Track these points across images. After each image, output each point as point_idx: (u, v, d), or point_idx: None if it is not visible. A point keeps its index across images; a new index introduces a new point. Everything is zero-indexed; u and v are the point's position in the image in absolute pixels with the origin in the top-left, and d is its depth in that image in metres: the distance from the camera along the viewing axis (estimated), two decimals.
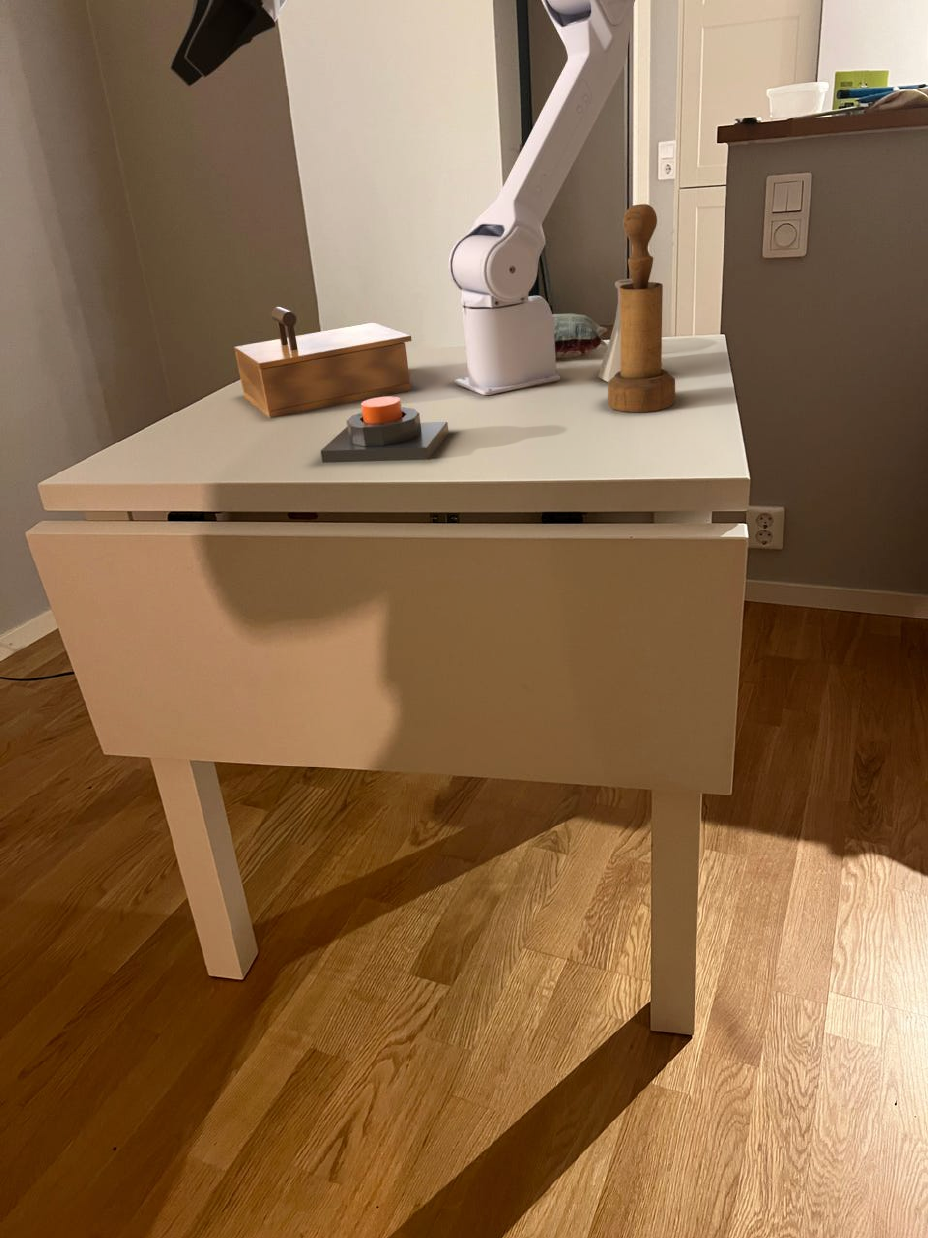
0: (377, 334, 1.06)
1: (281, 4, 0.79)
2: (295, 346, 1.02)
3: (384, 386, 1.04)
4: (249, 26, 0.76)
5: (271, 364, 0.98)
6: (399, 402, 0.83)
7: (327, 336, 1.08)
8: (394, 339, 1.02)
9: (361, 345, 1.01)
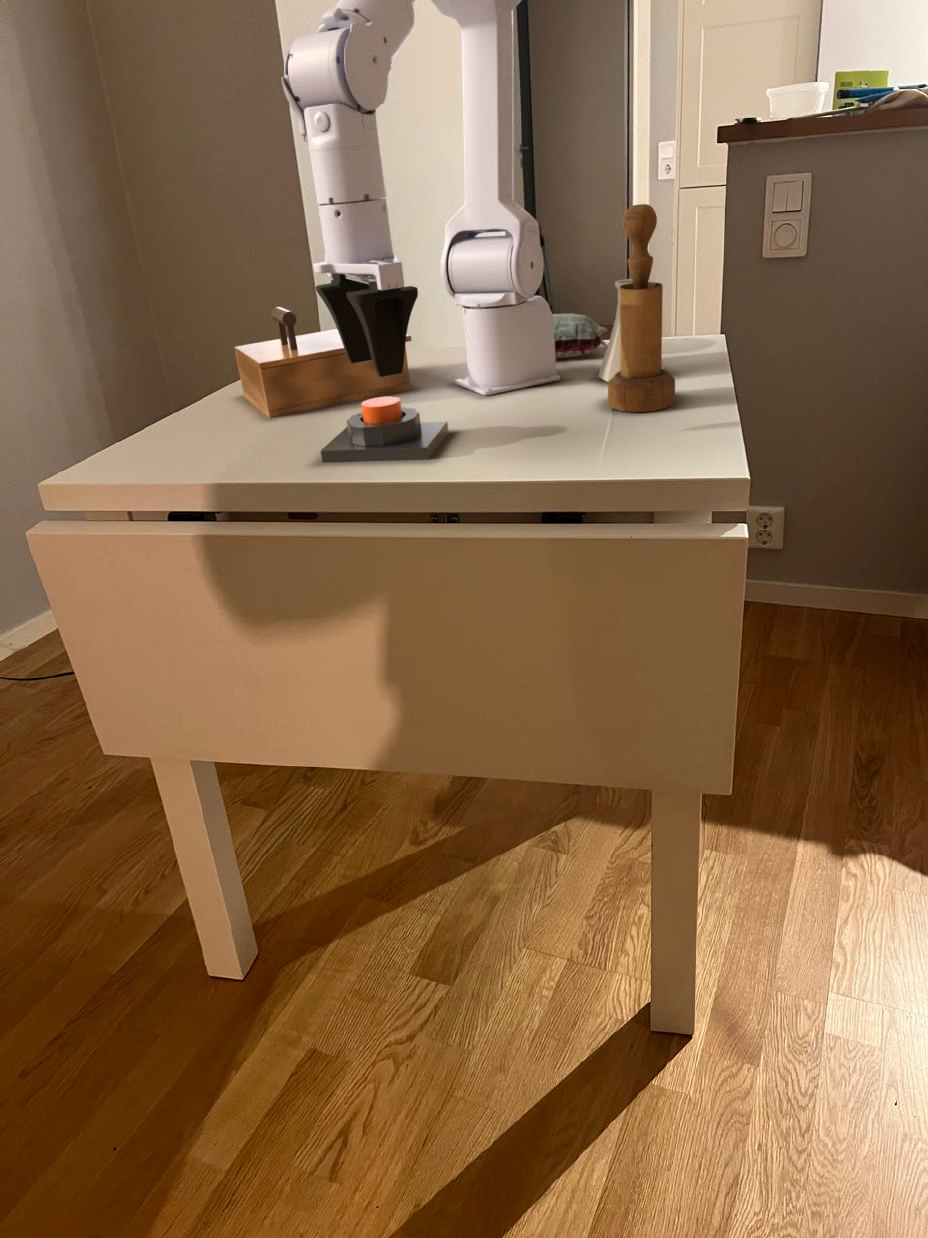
0: None
1: None
2: (295, 346, 1.02)
3: (384, 386, 1.04)
4: (403, 311, 0.76)
5: (271, 364, 0.98)
6: (399, 402, 0.83)
7: (327, 336, 1.08)
8: None
9: None
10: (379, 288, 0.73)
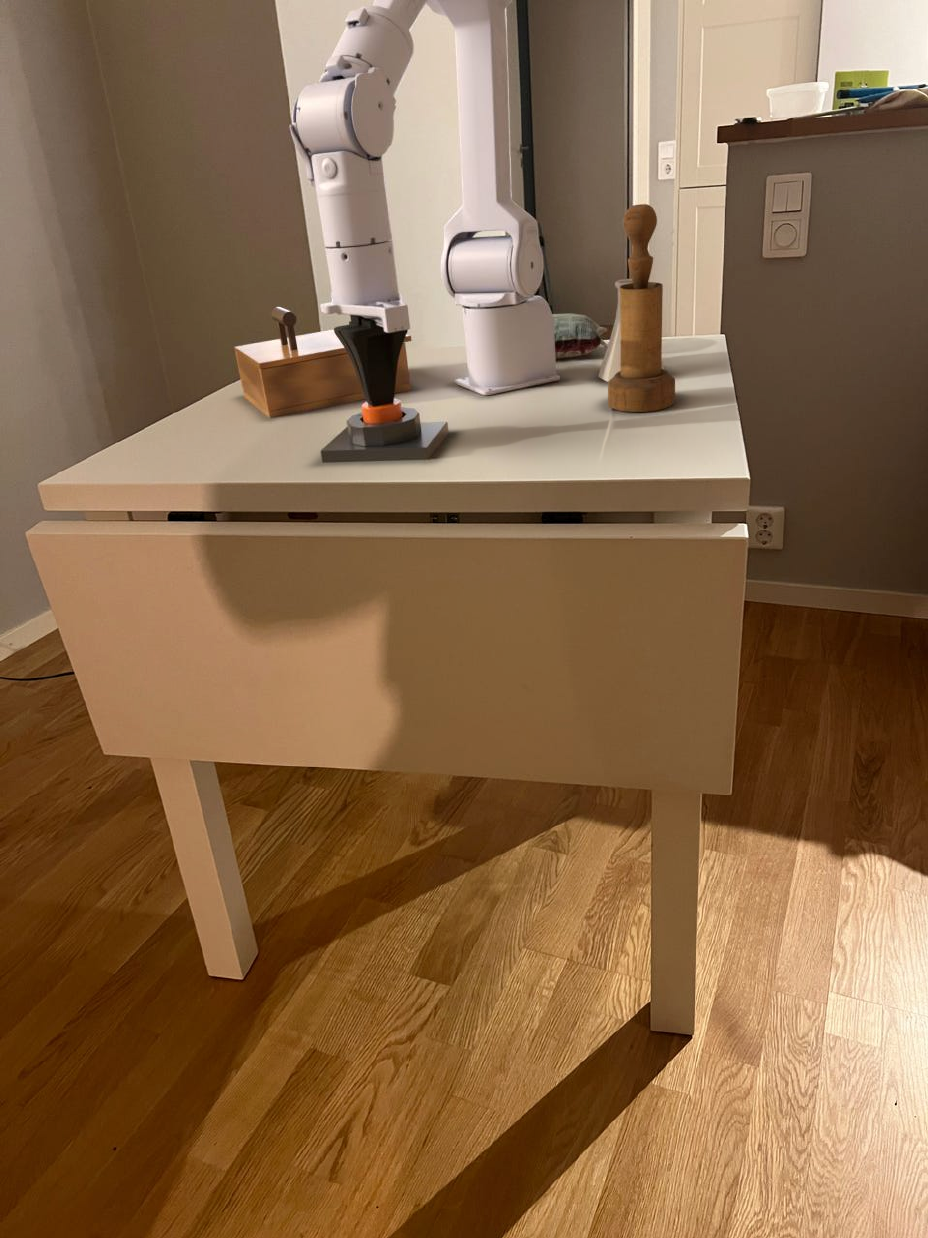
0: None
1: None
2: (295, 346, 1.02)
3: None
4: (394, 346, 0.80)
5: (271, 364, 0.98)
6: (399, 404, 0.83)
7: (327, 336, 1.08)
8: None
9: None
10: (385, 330, 0.74)
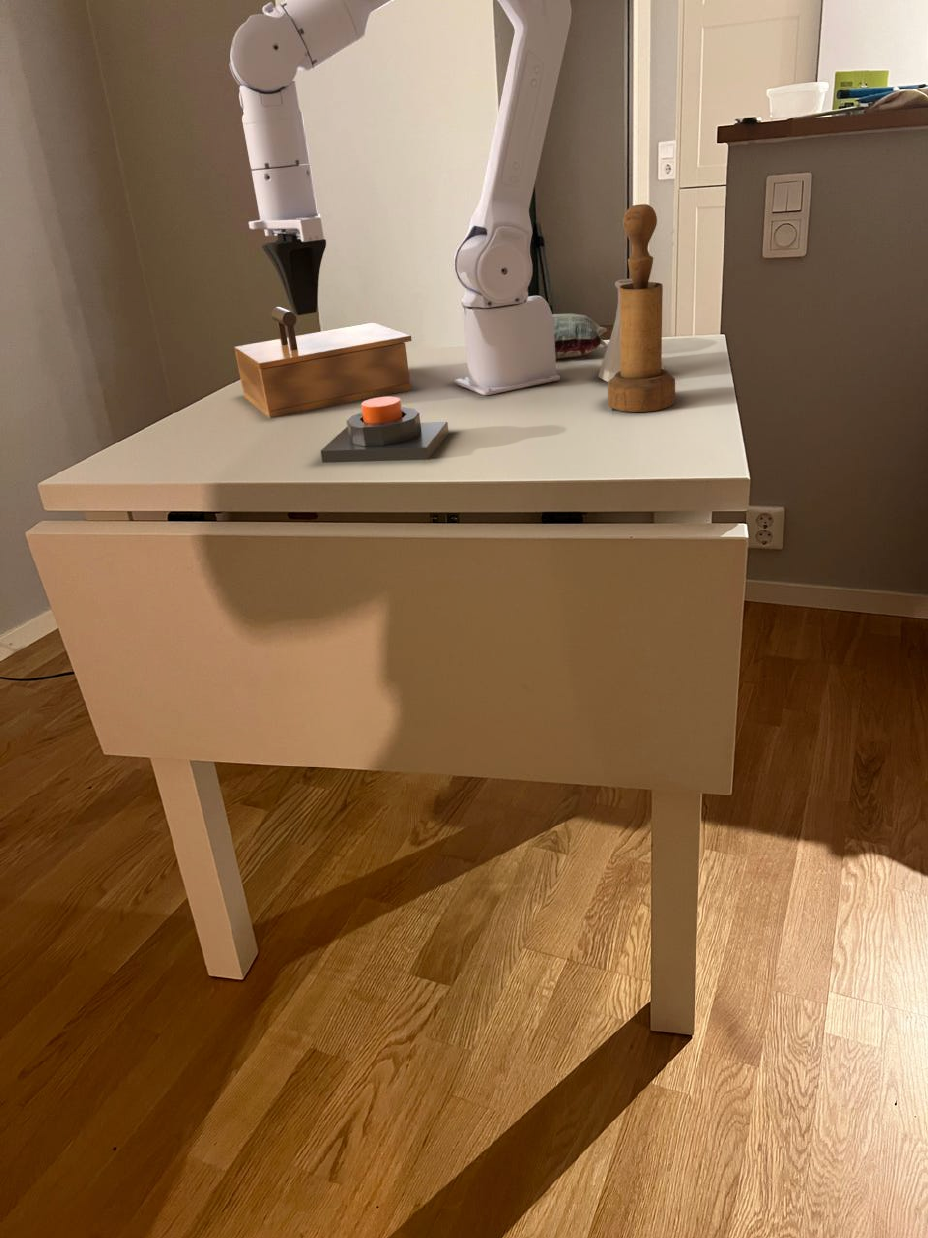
0: (377, 334, 1.06)
1: (317, 209, 0.91)
2: (295, 346, 1.02)
3: (384, 386, 1.04)
4: (314, 259, 0.92)
5: (271, 364, 0.98)
6: (399, 402, 0.83)
7: (327, 336, 1.08)
8: (394, 339, 1.02)
9: (361, 345, 1.01)
10: (302, 240, 0.86)
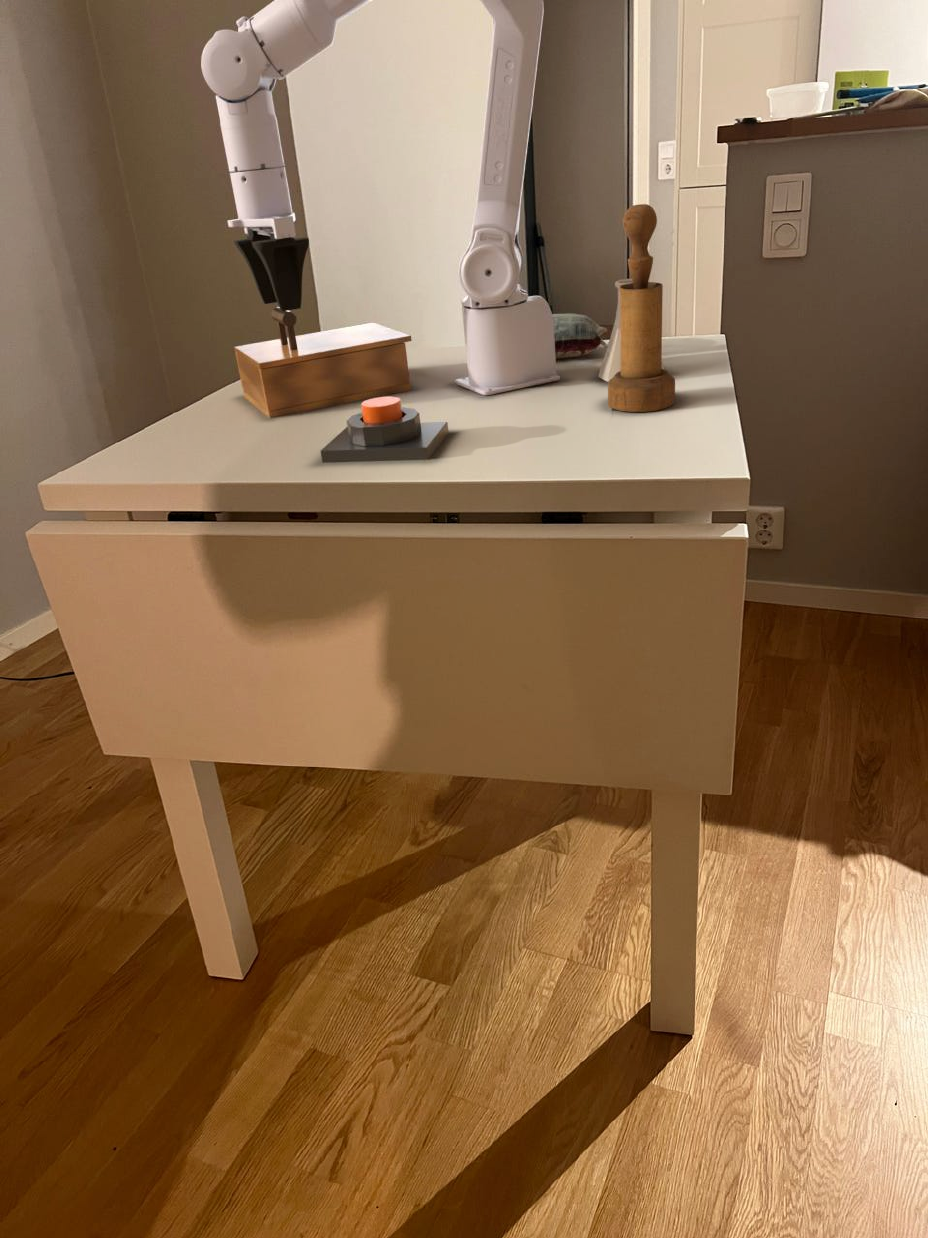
0: (377, 334, 1.06)
1: (291, 208, 0.97)
2: (295, 346, 1.02)
3: (384, 386, 1.04)
4: (298, 257, 0.95)
5: (271, 364, 0.98)
6: (399, 402, 0.83)
7: (327, 336, 1.08)
8: (394, 339, 1.02)
9: (361, 345, 1.01)
10: (275, 237, 0.93)
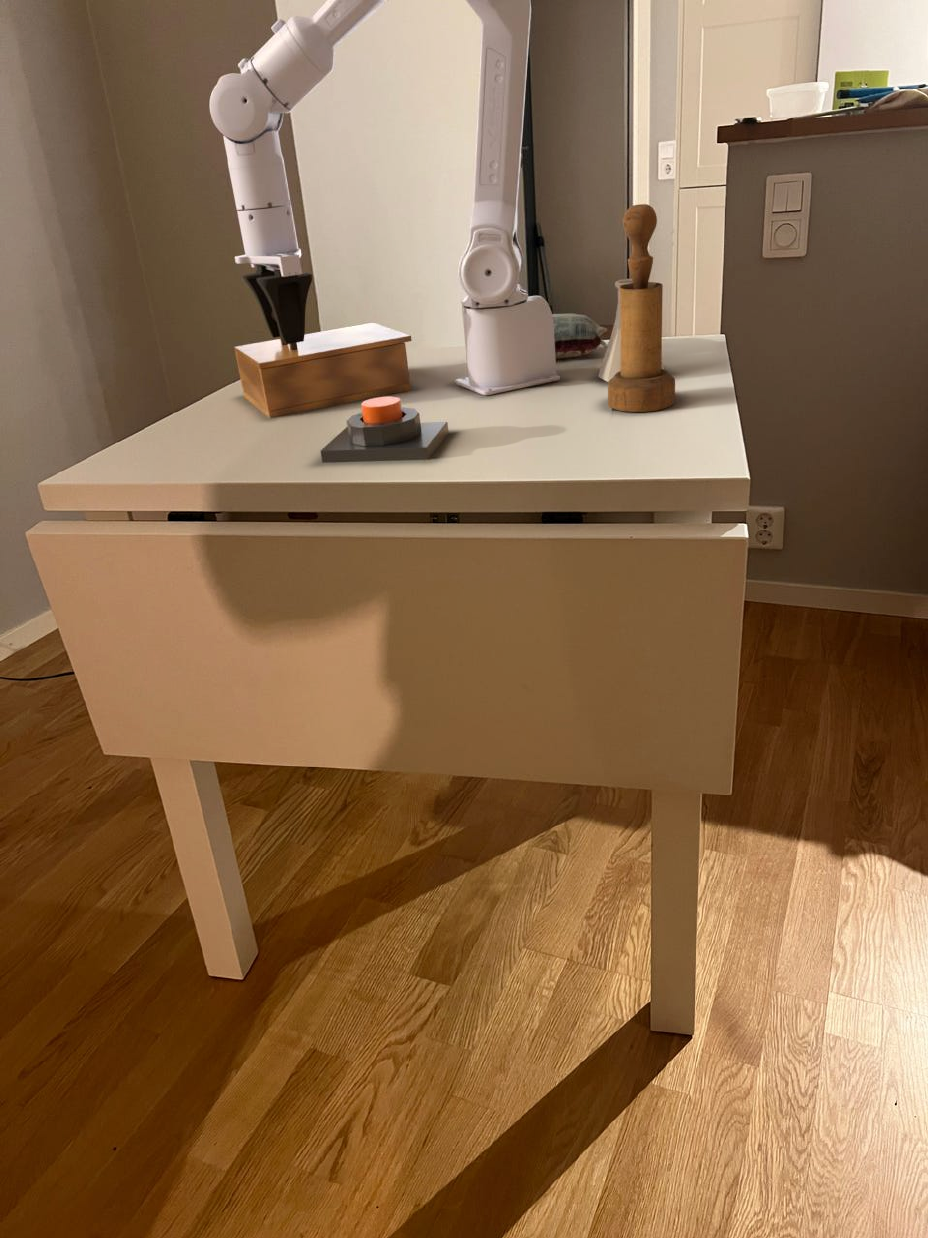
0: (377, 334, 1.06)
1: (297, 245, 0.99)
2: (295, 346, 1.02)
3: (384, 386, 1.04)
4: (301, 292, 0.98)
5: (271, 364, 0.98)
6: (399, 402, 0.83)
7: (327, 336, 1.08)
8: (394, 339, 1.02)
9: (361, 345, 1.01)
10: (282, 275, 0.94)
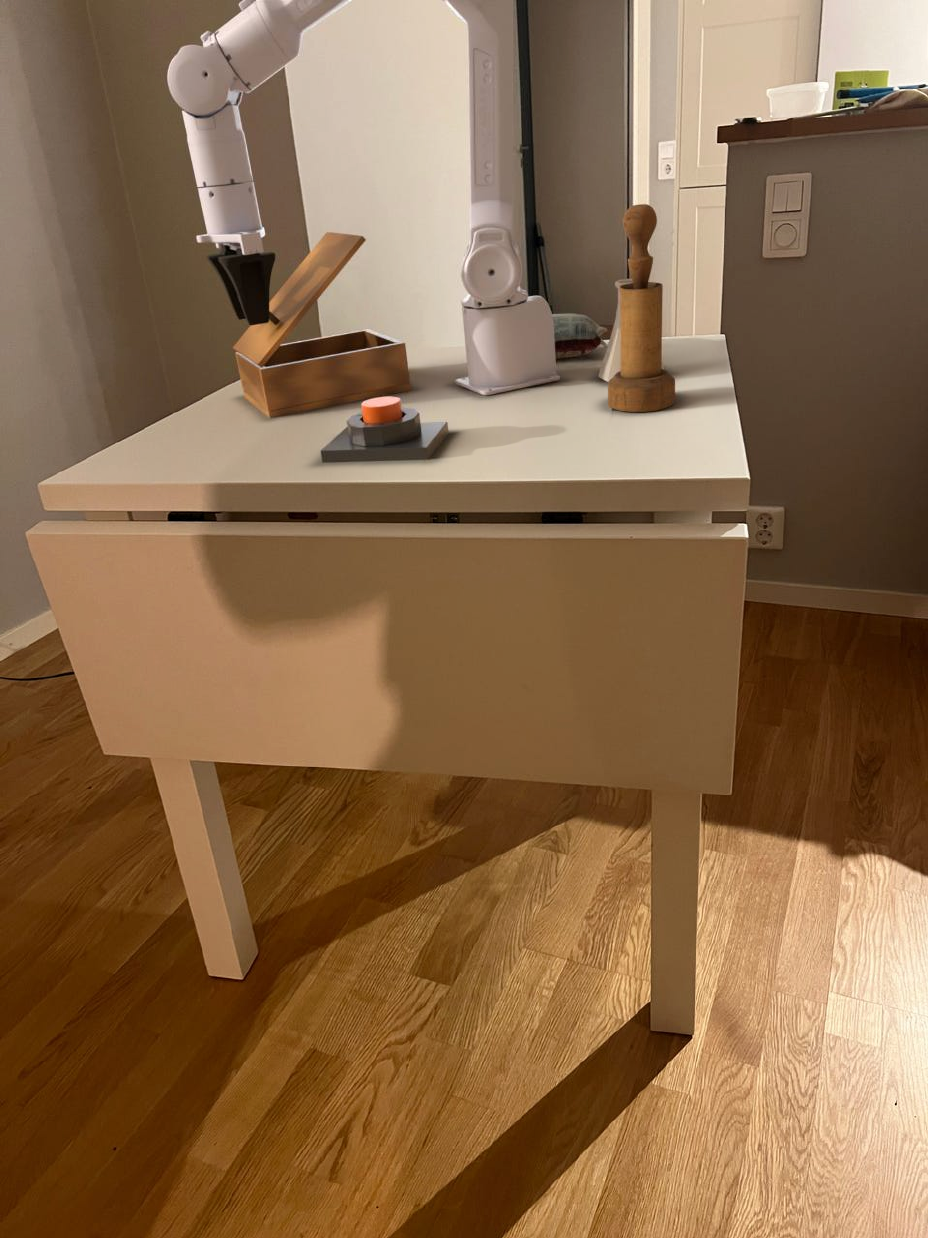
0: (335, 251, 1.00)
1: (260, 223, 0.97)
2: (276, 319, 1.00)
3: (384, 386, 1.04)
4: (264, 272, 0.96)
5: (267, 356, 0.97)
6: (399, 402, 0.83)
7: (297, 282, 1.04)
8: (350, 251, 0.97)
9: (327, 279, 0.97)
10: (243, 253, 0.92)
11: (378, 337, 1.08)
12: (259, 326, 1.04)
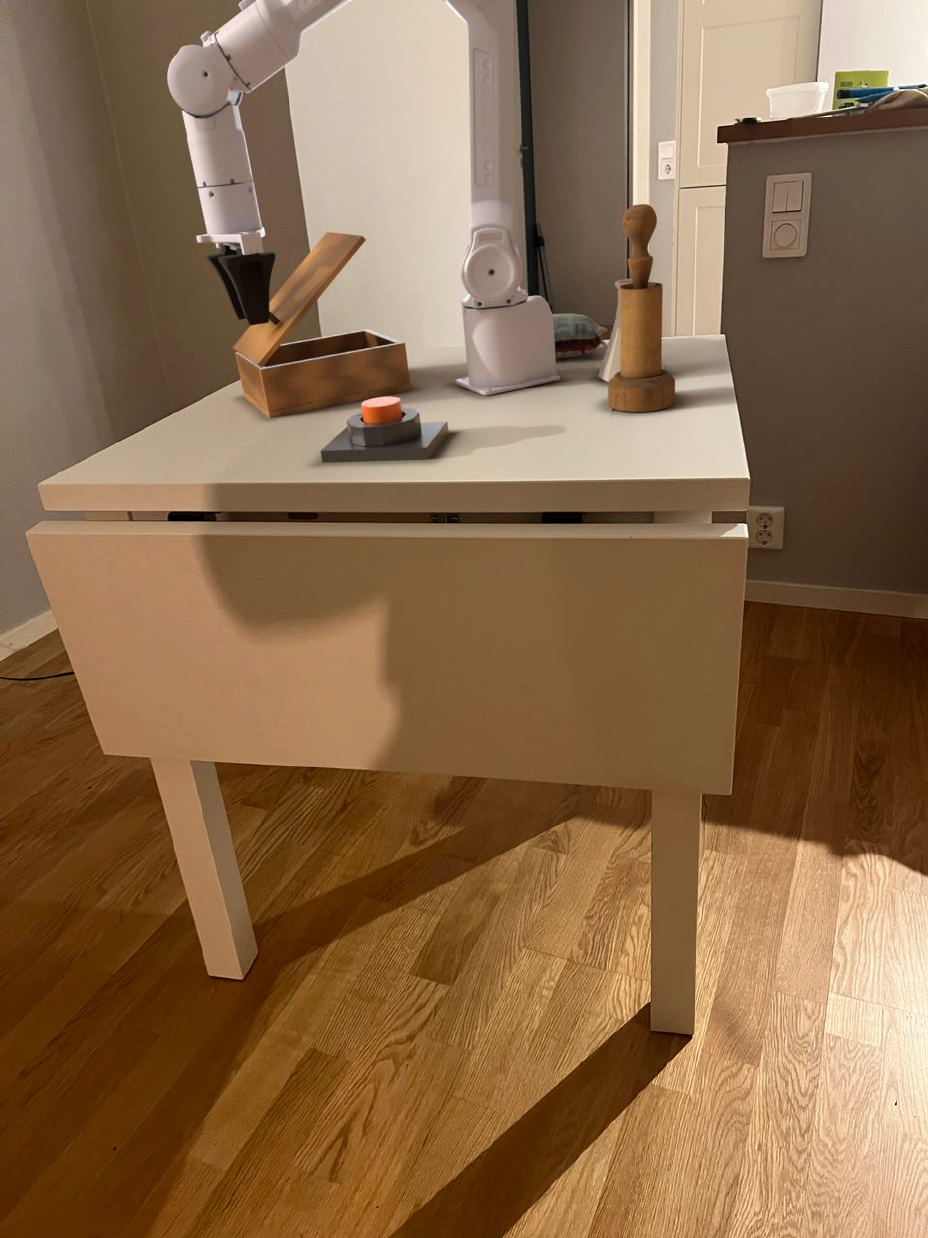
0: (335, 251, 1.00)
1: (260, 223, 0.97)
2: (276, 319, 1.00)
3: (384, 386, 1.04)
4: (264, 272, 0.96)
5: (267, 356, 0.97)
6: (399, 402, 0.83)
7: (297, 282, 1.04)
8: (350, 251, 0.97)
9: (327, 279, 0.97)
10: (243, 253, 0.92)
11: (378, 337, 1.08)
12: (259, 326, 1.04)
